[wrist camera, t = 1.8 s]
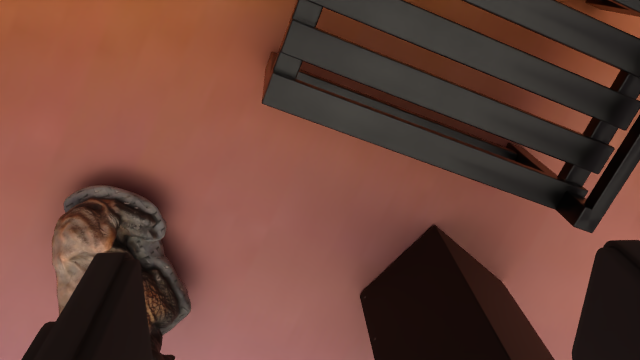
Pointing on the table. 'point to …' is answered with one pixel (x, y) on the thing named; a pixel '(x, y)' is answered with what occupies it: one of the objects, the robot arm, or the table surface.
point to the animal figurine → (119, 236)
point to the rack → (474, 95)
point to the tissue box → (445, 309)
